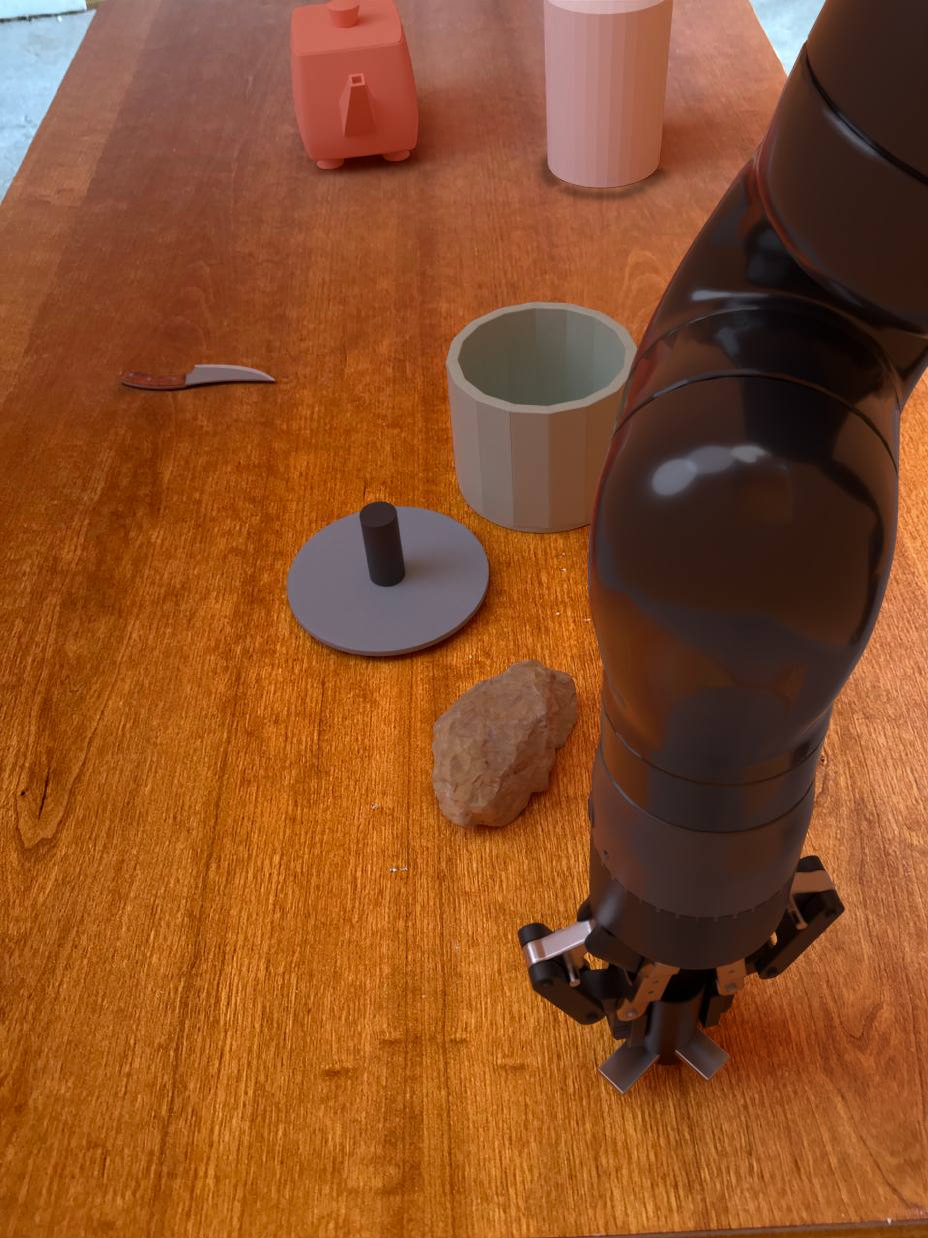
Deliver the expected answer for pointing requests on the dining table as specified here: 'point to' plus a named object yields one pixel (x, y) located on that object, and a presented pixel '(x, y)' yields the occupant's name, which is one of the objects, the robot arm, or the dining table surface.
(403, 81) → the teapot
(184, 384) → the knife
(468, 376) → the processor bowl
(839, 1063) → the dining table surface
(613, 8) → the bottle
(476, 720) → the stone tool
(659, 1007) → the blade unit
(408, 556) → the lid
